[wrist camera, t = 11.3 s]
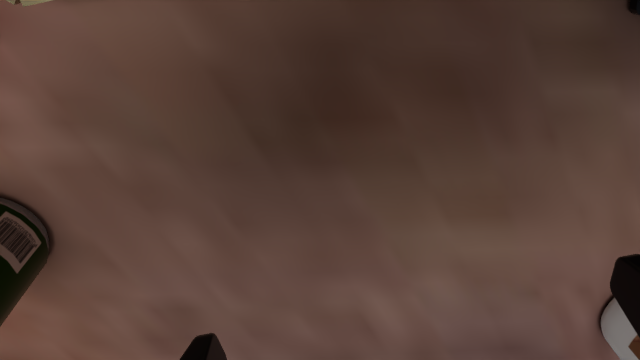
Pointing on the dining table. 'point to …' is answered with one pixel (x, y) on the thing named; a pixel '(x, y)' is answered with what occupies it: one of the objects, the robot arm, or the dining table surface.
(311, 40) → the dining table surface
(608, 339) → the milk bottle
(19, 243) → the beer can
